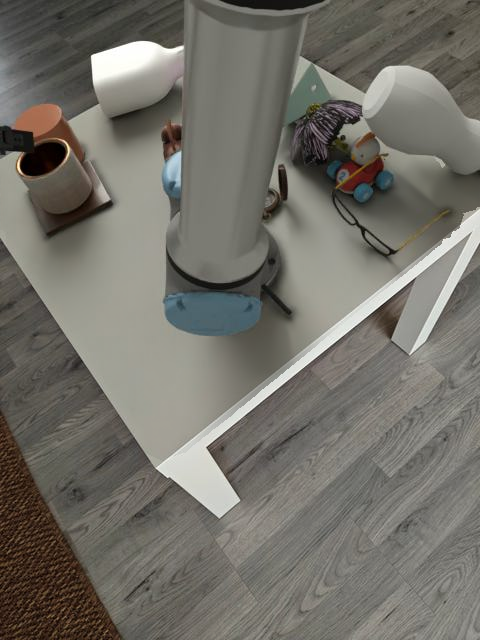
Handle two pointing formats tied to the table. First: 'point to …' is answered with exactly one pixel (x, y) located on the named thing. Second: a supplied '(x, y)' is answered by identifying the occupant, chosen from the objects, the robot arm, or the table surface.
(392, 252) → the eyeglasses
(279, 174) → the compass
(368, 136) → the toy car
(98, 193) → the brown wooden square plate
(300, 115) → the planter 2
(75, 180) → the planter
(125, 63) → the bottle
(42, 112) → the copper solid cylinder
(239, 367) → the table surface
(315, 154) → the decorative flower
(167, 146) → the alarm clock
